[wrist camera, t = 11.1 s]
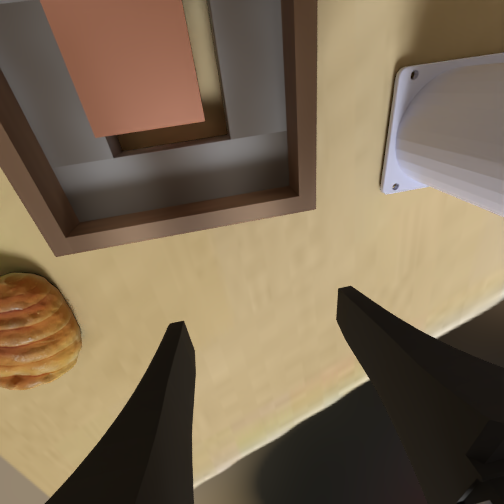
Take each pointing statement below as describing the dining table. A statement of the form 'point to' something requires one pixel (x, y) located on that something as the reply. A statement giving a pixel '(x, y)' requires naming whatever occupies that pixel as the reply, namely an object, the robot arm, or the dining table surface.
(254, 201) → the socket box
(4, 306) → the pastry
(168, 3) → the peg
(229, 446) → the dining table surface
